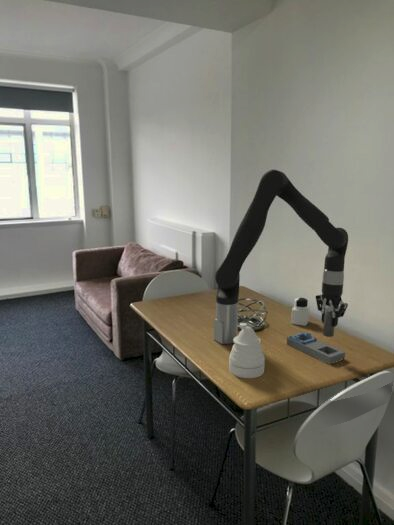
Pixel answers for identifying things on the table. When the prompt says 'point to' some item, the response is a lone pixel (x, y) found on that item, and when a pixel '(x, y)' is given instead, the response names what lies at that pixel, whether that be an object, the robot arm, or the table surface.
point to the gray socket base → (315, 347)
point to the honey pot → (246, 354)
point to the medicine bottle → (300, 312)
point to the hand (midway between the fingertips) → (329, 324)
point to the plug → (328, 322)
